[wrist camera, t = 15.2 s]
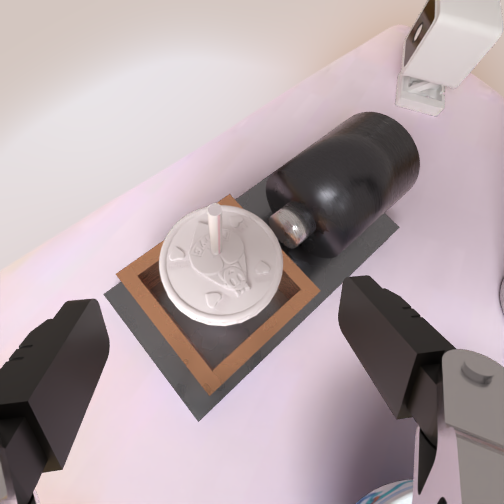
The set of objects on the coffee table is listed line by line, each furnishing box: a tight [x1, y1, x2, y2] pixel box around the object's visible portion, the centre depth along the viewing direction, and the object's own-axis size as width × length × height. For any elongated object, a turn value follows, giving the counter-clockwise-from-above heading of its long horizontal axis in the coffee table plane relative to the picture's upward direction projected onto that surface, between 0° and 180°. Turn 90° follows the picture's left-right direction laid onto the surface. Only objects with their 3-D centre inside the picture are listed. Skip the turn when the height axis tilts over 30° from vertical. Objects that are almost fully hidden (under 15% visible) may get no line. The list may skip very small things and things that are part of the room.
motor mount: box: [104, 112, 420, 422], centre depth 22 cm, size 24×12×10 cm, turn 131°
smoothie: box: [159, 203, 283, 326], centre depth 17 cm, size 6×6×14 cm
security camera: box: [395, 0, 503, 116], centre depth 32 cm, size 6×7×10 cm
